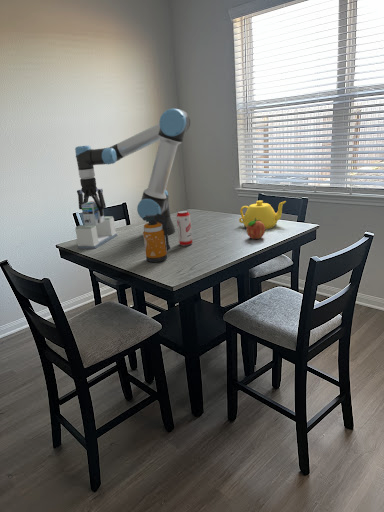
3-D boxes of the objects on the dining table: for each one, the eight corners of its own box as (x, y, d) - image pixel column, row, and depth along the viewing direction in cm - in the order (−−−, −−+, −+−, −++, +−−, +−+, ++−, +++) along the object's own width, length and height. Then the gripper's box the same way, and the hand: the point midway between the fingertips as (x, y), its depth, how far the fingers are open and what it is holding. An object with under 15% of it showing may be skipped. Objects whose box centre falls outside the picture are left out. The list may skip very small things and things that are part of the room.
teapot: (288, 222, 210) (288, 197, 206) (284, 231, 195) (283, 203, 190) (243, 222, 219) (241, 198, 215) (235, 230, 204) (234, 204, 199)
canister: (146, 257, 173) (141, 213, 167) (171, 254, 174) (166, 210, 167) (146, 264, 165) (140, 217, 158) (172, 261, 165) (167, 215, 159)
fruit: (269, 237, 187) (268, 216, 184) (257, 242, 180) (257, 221, 177) (254, 234, 193) (253, 215, 189) (242, 239, 186) (241, 219, 183)
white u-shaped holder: (117, 235, 215) (114, 216, 211) (95, 248, 194) (91, 227, 191) (101, 235, 218) (97, 216, 214) (78, 248, 197) (74, 227, 194)
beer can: (194, 242, 189) (191, 210, 184) (190, 246, 184) (186, 213, 179) (182, 242, 191) (179, 210, 186) (177, 246, 186) (174, 213, 181)
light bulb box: (96, 225, 197) (92, 204, 194) (84, 225, 199) (80, 204, 195) (105, 220, 207) (102, 200, 203) (93, 220, 208) (90, 200, 205)
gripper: (108, 175, 196) (115, 220, 203) (74, 177, 202) (82, 220, 209) (101, 178, 189) (108, 224, 196) (66, 179, 195) (74, 224, 202)
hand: (94, 222), depth 203 cm, fingers closed on light bulb box, 7 cm apart
